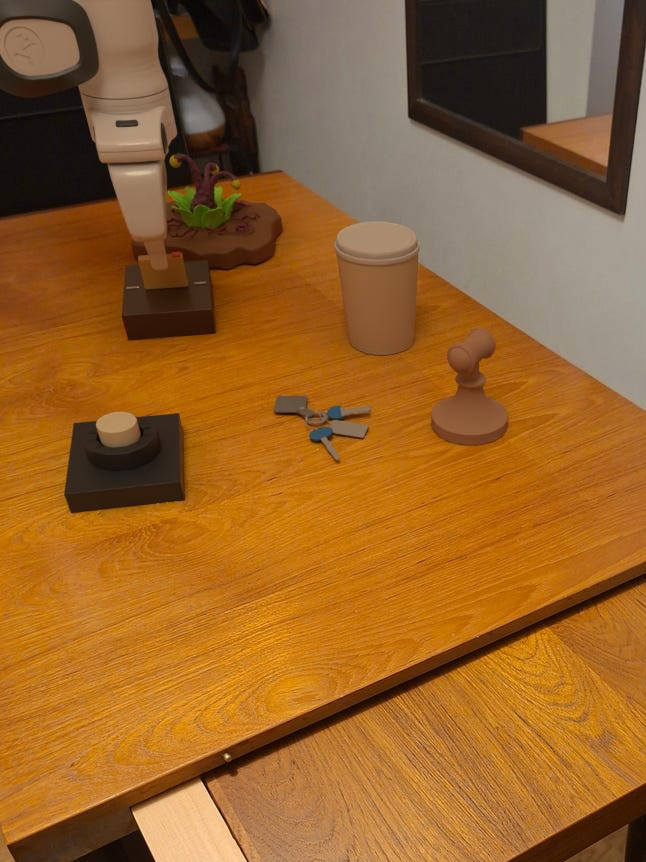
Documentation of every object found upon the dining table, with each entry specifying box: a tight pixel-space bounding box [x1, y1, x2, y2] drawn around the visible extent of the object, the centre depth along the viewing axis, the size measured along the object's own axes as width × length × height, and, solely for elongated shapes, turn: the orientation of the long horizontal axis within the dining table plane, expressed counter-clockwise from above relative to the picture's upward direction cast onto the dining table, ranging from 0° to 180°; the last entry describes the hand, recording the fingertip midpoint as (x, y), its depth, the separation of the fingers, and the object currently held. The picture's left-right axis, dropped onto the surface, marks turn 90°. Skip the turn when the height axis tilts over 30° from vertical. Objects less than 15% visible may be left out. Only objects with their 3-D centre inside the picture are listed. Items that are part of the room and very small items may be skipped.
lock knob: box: [137, 252, 188, 290], centre depth 107 cm, size 5×1×4 cm, turn 104°
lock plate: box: [121, 260, 217, 341], centre depth 109 cm, size 10×14×3 cm
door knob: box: [430, 326, 509, 446], centre depth 91 cm, size 8×10×8 cm
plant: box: [131, 152, 283, 270], centre depth 121 cm, size 20×20×11 cm
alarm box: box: [63, 412, 186, 514], centre depth 85 cm, size 10×12×4 cm
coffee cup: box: [333, 220, 421, 356], centre depth 102 cm, size 9×9×12 cm
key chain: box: [273, 395, 372, 461], centre depth 93 cm, size 14×8×1 cm, turn 40°
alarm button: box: [96, 411, 141, 448], centre depth 83 cm, size 4×4×2 cm
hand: (160, 250), depth 105 cm, fingers open, 8 cm apart
